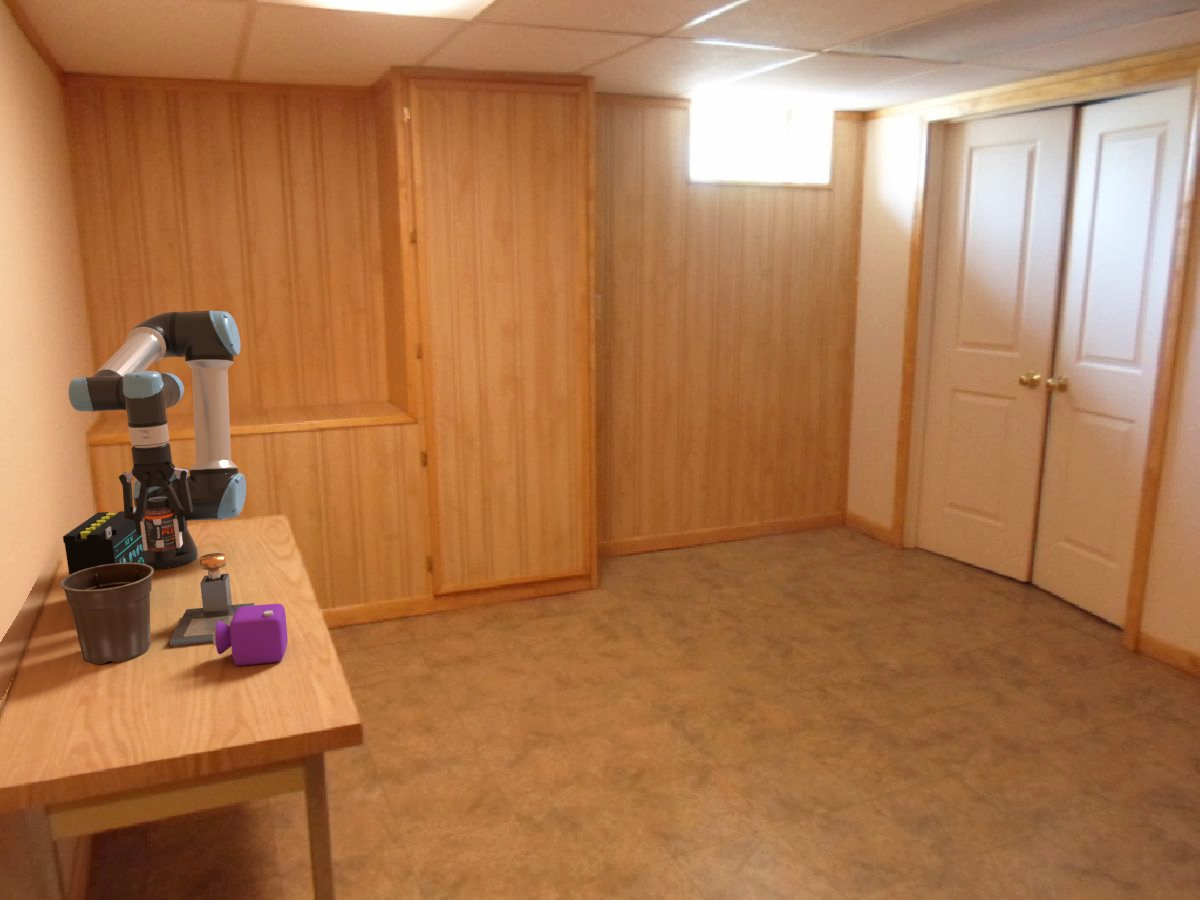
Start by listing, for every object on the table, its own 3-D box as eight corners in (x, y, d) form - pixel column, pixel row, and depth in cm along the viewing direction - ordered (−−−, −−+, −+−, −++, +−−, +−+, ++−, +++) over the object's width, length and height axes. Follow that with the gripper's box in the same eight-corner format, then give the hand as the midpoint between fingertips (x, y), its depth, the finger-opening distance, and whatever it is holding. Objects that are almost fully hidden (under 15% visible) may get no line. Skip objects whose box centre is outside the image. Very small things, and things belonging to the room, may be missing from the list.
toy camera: (214, 653, 182) (209, 606, 180) (287, 641, 187) (282, 595, 185) (215, 675, 172) (210, 625, 170) (292, 662, 178) (287, 613, 176)
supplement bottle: (167, 553, 198) (160, 503, 195) (142, 552, 199) (135, 502, 197) (184, 544, 204) (178, 495, 201) (160, 543, 205) (154, 494, 202)
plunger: (205, 584, 201) (201, 554, 200) (230, 582, 202) (227, 552, 201) (200, 592, 196) (197, 561, 195) (226, 590, 197) (223, 559, 196)
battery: (121, 617, 202) (110, 530, 198) (74, 620, 200) (62, 532, 196) (150, 587, 220) (140, 506, 216) (108, 589, 219) (97, 509, 215)
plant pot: (180, 641, 188) (172, 566, 185) (116, 674, 173) (105, 593, 170) (120, 631, 194) (110, 558, 191) (52, 663, 179) (40, 584, 176)
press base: (187, 615, 202) (182, 576, 200) (254, 609, 205) (250, 570, 203) (170, 646, 186) (165, 604, 184) (243, 639, 189) (239, 597, 187)
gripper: (96, 450, 190) (111, 556, 196) (194, 444, 195) (206, 548, 200) (107, 443, 198) (121, 545, 203) (201, 437, 202) (212, 538, 207)
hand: (163, 547), depth 201 cm, fingers closed on supplement bottle, 6 cm apart
